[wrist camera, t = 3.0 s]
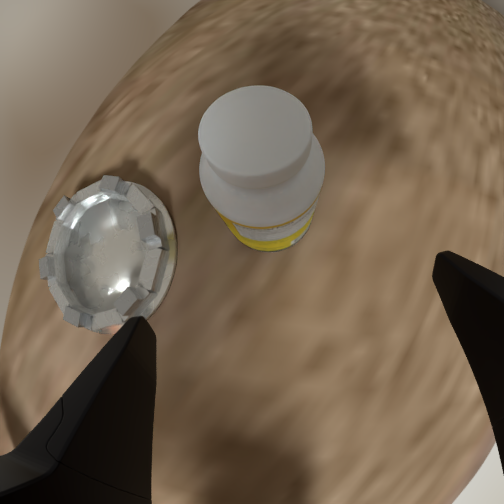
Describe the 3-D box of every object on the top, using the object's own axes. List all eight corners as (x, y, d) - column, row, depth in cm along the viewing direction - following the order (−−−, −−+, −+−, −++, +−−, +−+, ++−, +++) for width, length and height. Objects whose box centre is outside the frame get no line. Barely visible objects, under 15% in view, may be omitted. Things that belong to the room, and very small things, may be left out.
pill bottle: (248, 165, 23) (218, 61, 12) (323, 191, 22) (351, 92, 11) (215, 236, 22) (149, 169, 11) (294, 268, 21) (303, 223, 10)
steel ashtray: (211, 251, 22) (200, 242, 19) (107, 364, 21) (86, 370, 18) (120, 157, 25) (104, 142, 22) (40, 258, 24) (20, 252, 21)
